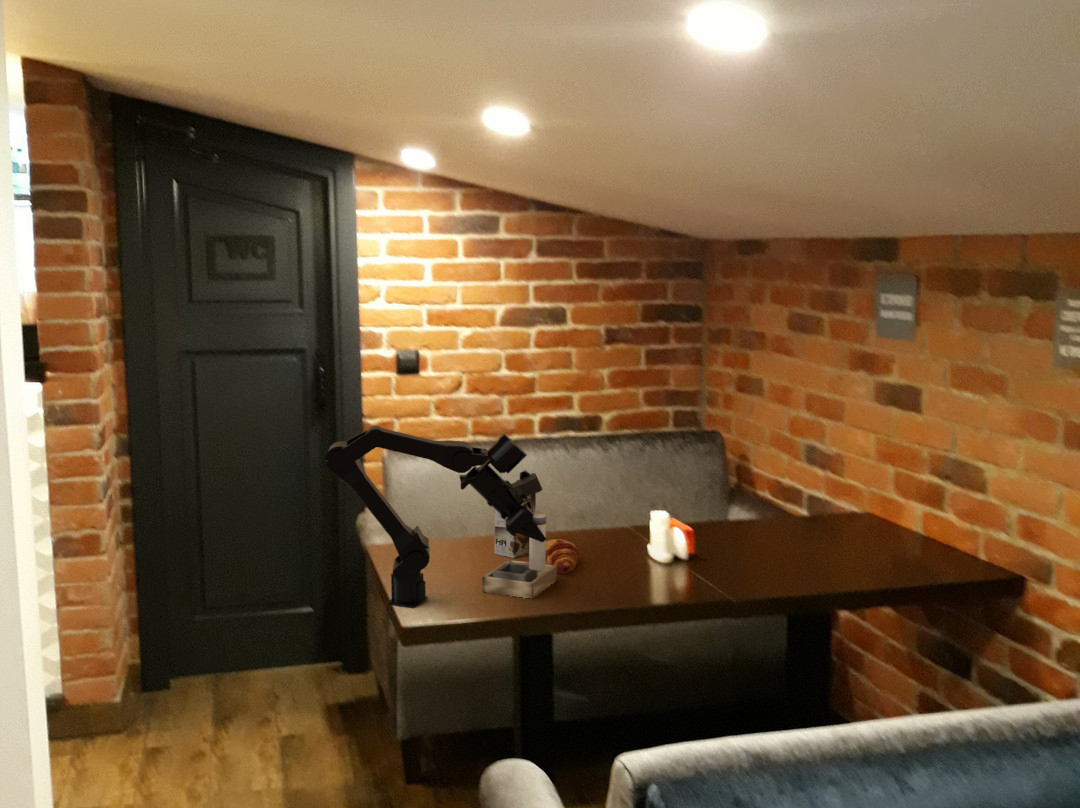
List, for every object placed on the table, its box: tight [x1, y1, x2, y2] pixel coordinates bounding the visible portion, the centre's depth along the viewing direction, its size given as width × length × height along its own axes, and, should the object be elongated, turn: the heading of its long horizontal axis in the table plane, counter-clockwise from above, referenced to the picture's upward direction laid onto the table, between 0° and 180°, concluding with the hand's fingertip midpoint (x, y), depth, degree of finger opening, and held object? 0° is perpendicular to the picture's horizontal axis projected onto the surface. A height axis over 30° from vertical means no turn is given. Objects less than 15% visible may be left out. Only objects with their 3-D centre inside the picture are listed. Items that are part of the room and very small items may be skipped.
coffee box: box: [494, 493, 537, 559], centre depth 265 cm, size 9×6×16 cm
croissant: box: [545, 538, 580, 575], centre depth 256 cm, size 21×10×8 cm, turn 13°
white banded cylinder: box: [528, 511, 547, 570], centre depth 230 cm, size 4×4×12 cm
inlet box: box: [481, 559, 558, 600], centre depth 240 cm, size 12×14×5 cm
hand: (543, 538), depth 231 cm, fingers closed on white banded cylinder, 3 cm apart
